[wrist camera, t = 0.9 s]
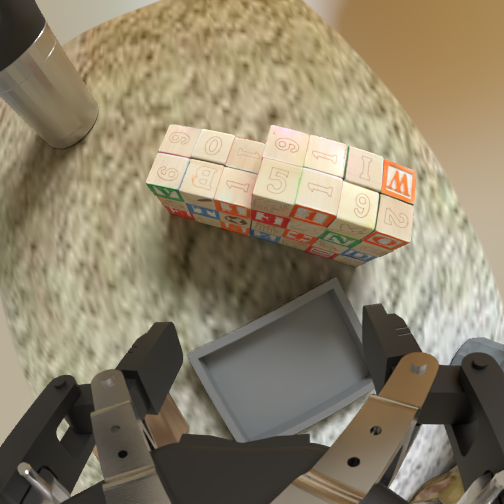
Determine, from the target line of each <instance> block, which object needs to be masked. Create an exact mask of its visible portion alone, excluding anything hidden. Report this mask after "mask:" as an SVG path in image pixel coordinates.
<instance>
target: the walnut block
mask: <svg viewBox="0 0 504 504" xmlns="http://www.w3.org/2000/svg"><path fill="white" fill-rule="evenodd" d="M145 420H146V422H147V424H148V426H149V428H150V431H151V433H152V435H153V438H154V440H155V442H156V444H157V447H161V446H164V445H167V444H171V443H176V442H179V441H180V438H181V436H182V434H186V433H187V431H188V429H189V426H188V424H187V422H186V421H185V419H184V417H183V416H182V414H181V412H180V411H179V409H178V407H177V406H176V404H175V402H174V400H173V399H172V397H171V395H170V393H168V395H167V397H166V399H165V401H164V403H163V405H162V407H161V409H160V412H159V414H158V415H150V414H146V416H145ZM93 453H94V454H95V456H96V457H97V459H98V460H99V456H98V452H97V447H96V445H95V447H94V449H93ZM99 462H100V461H99Z"/></svg>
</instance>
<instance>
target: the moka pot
mask: <svg viewBox="0 0 504 504" xmlns="http://www.w3.org/2000/svg"><path fill="white" fill-rule="evenodd" d="M474 352H482V353H486V354H488V355H490V356H492V357H493V358H494V359H495V360H496V361H497V363H498V364H499V366H500V367H501V369H502V370H503V372H504V345H503V344H500V343H497V342H494V341H492V340H489V339H487V338H472V339H469V340H467V341H466V342H465V343H464V344H463V345H462V346H461V348H460V349H459V350H458V352H457V353H456V355H455V357H454V358H453V361H452V363H451V365H461V362H462V359H463V358H464V357H465V356H466V355H468V354H470V353H474Z"/></svg>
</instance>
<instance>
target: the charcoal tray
mask: <svg viewBox="0 0 504 504" xmlns="http://www.w3.org/2000/svg"><path fill="white" fill-rule="evenodd" d="M187 357H188V358H189V360H190V362H191V364H192V366H193V368H194V370H195V372H196V373H197V375H198V377H199V379H200V381H201V383H202V384H203V386H204V388H205V390H206V391H207V393H208V395H209V397H210V398H211V400H212V402H213V404H214V405H215V407H216V409H217V410H218V412H219V414H220V415H221V417H222V419H223V420H224V422H225V424H226V425H227V427H228V429H229V430H230V432H231V433H232V435H233V437H234V438H235V440H236V441H237V442H240V443H244V442H250V441H255V440H260V439H265V438H269V437H274V436H285V435H294V434H296V433H298V432H300V431H302V430H304V429H306V428H308V427H310V426H311V425H313V424H315V423H317V422H319V421H321V420H323V419H324V418H326V417H328V416H330V415H331V414H333V413H335V412H337V411H338V410H340V409H342V408H343V407H345V406H347V405H349V404H350V403H352V402H353V401H355V400H357V399H358V398H360V397H361V396H363V395H365V394H366V393H368V392H369V391H371V390H372V389H374V388H375V387H374V384H373V381H372V377H371V374H370V371H369V368H368V364H367V361H366V358H365V355H364V352H363V346H362V326H361V324H360V322H359V320H358V318H357V316H356V314H355V312H354V310H353V308H352V306H351V304H350V302H349V300H348V298H347V296H346V294H345V292H344V290H343V288H342V286H341V285H340V283H339V281H338V279H337V277H335V278H332V279H330V280H328V281H326V282H324V283H322V284H321V285H319V286H317V287H315V288H313V289H312V290H310V291H308V292H306V293H304V294H302V295H301V296H299V297H297V298H295V299H293V300H291V301H290V302H288V303H286V304H284V305H282V306H280V307H278V308H276V309H275V310H273V311H271V312H269V313H267V314H265V315H263V316H261V317H259V318H257V319H255V320H253V321H252V322H250V323H248V324H246V325H244V326H242V327H240V328H238V329H236V330H234V331H232V332H230V333H228V334H226V335H224V336H222V337H220V338H218V339H216V340H214V341H211V342H209V343H207V344H205V345H203V346H201V347H199V348H197V349H195V350H193V351H191V352H190V353H188V354H187Z"/></svg>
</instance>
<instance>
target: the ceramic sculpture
mask: <svg viewBox="0 0 504 504" xmlns="http://www.w3.org/2000/svg"><path fill="white" fill-rule="evenodd" d="M464 494H465V491H464V488H463V484H462V480H461V476H460V473H459V469H458V466H457V465H456V466H455V467H453V468H452V469H451V470H450V471H449V472H447V473H445V474H442V475H439V476H437V477H435V478H432V479H431V480H429V481H427V482H426V483H425V484H424V485H423V486H422V487H421V488H420V489H419V490H418V491H417V493H416V494H415V495H414V496H413V498H412V499H411V500H410V502H409V503H410V504H413V503H415V502H423V501H424V502H426V501H431V500H433V499H436V498H439V501H440V502H441V503H442V504H457V502H458V501H459V500H460V498H461V497H462V496H463V495H464Z"/></svg>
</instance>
